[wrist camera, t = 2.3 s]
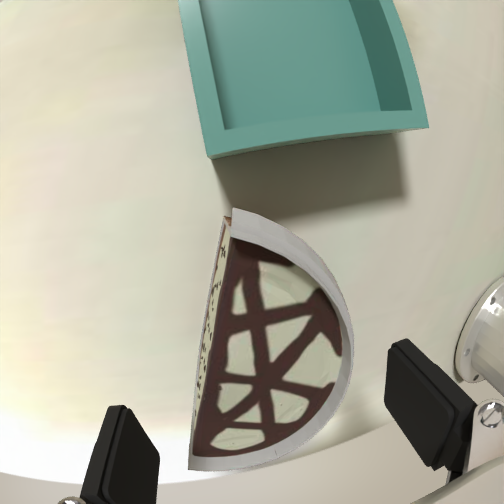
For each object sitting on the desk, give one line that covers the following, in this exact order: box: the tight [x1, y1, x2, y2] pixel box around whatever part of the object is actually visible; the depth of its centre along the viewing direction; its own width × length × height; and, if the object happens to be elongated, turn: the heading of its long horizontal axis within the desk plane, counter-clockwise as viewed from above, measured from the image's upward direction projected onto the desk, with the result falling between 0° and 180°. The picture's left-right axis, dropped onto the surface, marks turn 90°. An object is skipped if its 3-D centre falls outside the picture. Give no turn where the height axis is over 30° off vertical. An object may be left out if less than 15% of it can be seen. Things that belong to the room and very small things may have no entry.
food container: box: [188, 207, 354, 471], centre depth 15 cm, size 12×6×10 cm, turn 168°
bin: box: [178, 0, 429, 160], centre depth 13 cm, size 12×18×4 cm, turn 11°
